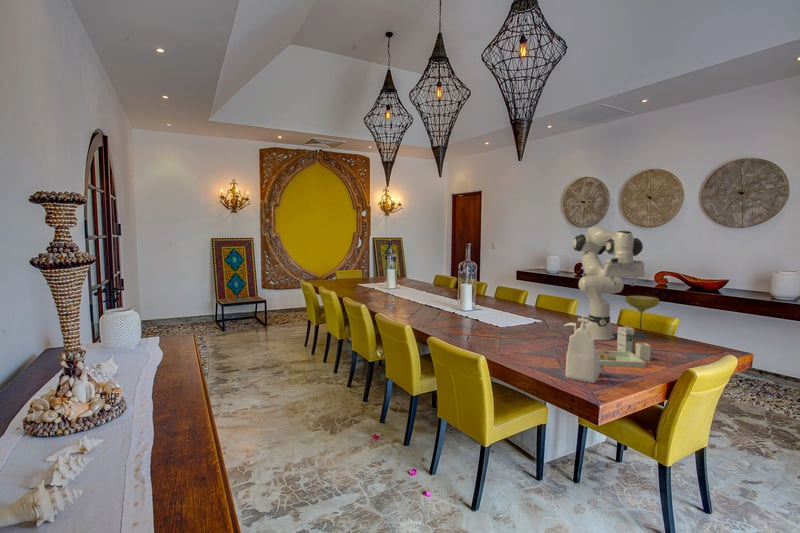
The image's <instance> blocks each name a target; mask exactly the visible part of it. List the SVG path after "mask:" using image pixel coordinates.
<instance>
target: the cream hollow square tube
mask: <svg viewBox="0 0 800 533" xmlns="http://www.w3.org/2000/svg"><path fill="white" fill-rule="evenodd" d="M651 349H652V345H650V344H649V343H647V342H636V343H635V353H634V355H636V356H637V357H639V358H640V359H642V360H645V362H651Z"/></svg>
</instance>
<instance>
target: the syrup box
mask: <svg viewBox="0 0 800 533" xmlns="http://www.w3.org/2000/svg"><path fill="white" fill-rule="evenodd" d="M634 333H635V328H633V327H631V326H628V325H625V326H618V327H617V339H616V340H617V342H616V343H617V344H616V346H617V347H616V348H617V350H616V351H627V352H632V353H633V354H634V349H635V347H634V346H635V336H634Z"/></svg>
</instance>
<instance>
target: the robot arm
mask: <svg viewBox="0 0 800 533" xmlns="http://www.w3.org/2000/svg"><path fill="white" fill-rule="evenodd" d="M571 245H572V248H573V250H574V251H576V252H583V253H582V255H581V256H580V260H581V265H582V268H583V270H584V273H585V274H586V276H582V277H581V278H580V279H579V281H578V283H577V284H578V288H579V290H580V291H581V292H582V293H583V294H584V295H585V296H586V297H587V300H588V302H589V314H588V317H587V319H588V323H586V322H585V323H584V324H585V329H587V330H588V331H589V334H590V336H591V338H593V339H594V341H610V340H612V339H615V336H614V335H613V324H611V323H610V322H611V316H610V310H611V307H610V303H609V301H607V300H605V299H604V298H602V297H601V294H604V295H605V294H607V295H609V294H611V295H612V294H617V293H621V292H622V291H623V289H624V286H625V285H624V281H623V279H622V278H632V280H633V281H632V282H630V287H631V286H632V287H635V286H636V282H637V280H638V278H644V277H645V273H646V272H645V263H644V262H643V261H642V260H634V256H635V257H636V256H639V254H640V253H641V252H642V251H643V248H644V245H643V242H642V240H640V239H639V238H637V237H634V236H633V232H632V231H627V230H618V231H616V232H613V231H611V230H609V229H606V228H604V227H603V226H599V225H593V226H591V227H589V228H588V229H587V232H586V234H583V233H581V234H579V235H576V236H575V237H573V239H572V244H571ZM604 252H607V254H609V255H612V256H614V257H611V258H607V259H605V261H604V263H605V264H604V265H603V264H602V262H601V260H600V258H599V255H603V253H604Z"/></svg>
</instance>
